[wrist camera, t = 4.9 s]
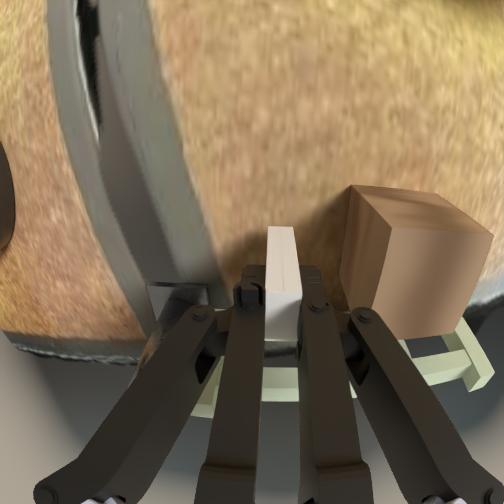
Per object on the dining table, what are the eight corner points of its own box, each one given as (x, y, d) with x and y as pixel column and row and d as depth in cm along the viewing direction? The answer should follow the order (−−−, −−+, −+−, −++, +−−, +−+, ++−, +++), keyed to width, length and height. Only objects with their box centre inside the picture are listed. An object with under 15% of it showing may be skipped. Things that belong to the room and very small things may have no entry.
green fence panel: (209, 324, 22) (187, 414, 14) (206, 308, 21) (180, 401, 14) (446, 318, 20) (483, 386, 13) (453, 304, 20) (494, 372, 12)
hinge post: (161, 325, 24) (116, 436, 13) (149, 281, 21) (83, 400, 11) (213, 329, 23) (185, 453, 13) (207, 284, 21) (164, 422, 11)
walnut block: (338, 274, 20) (359, 343, 14) (350, 184, 17) (391, 227, 11) (415, 274, 20) (453, 332, 13) (435, 193, 16) (494, 235, 10)
